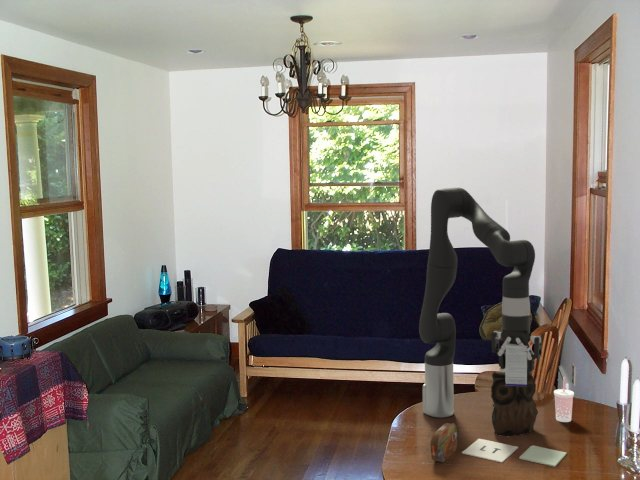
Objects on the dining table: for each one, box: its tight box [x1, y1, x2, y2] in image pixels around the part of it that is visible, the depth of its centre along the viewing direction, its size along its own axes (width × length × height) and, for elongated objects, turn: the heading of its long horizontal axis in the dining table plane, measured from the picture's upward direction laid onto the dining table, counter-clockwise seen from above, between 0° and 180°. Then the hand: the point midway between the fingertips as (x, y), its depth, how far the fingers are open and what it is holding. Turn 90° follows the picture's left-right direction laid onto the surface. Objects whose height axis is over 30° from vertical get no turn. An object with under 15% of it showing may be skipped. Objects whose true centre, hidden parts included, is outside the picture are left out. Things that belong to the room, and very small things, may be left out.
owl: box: [490, 370, 539, 438], centre depth 223 cm, size 13×13×20 cm
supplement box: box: [505, 344, 528, 386], centre depth 204 cm, size 6×6×12 cm
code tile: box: [461, 438, 519, 463], centre depth 210 cm, size 12×12×1 cm
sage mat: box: [518, 445, 568, 468], centre depth 205 cm, size 10×10×1 cm
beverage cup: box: [553, 376, 575, 423], centre depth 232 cm, size 6×6×14 cm
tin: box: [430, 422, 459, 463], centre depth 207 cm, size 15×3×8 cm, turn 148°
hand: (516, 370), depth 205 cm, fingers closed on supplement box, 7 cm apart
